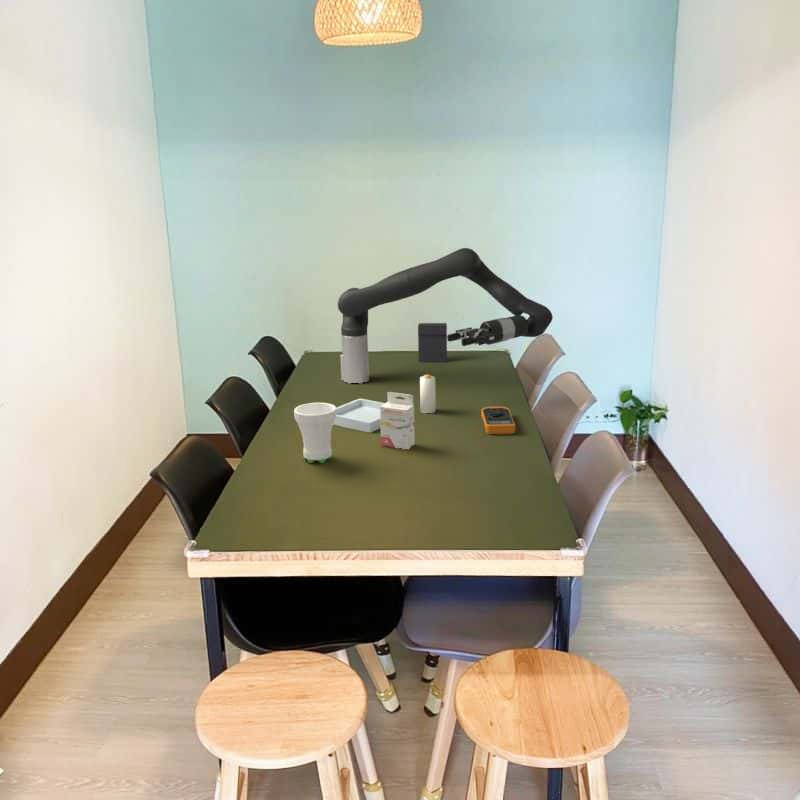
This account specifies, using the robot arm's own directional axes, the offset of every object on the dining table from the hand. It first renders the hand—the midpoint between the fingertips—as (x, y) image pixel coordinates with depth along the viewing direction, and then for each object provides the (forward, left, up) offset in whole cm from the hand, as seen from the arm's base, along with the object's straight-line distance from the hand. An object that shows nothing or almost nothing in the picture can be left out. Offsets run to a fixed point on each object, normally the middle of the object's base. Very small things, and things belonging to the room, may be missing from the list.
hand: (454, 340), depth 247 cm
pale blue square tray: (-16, -26, -22) cm, 38 cm away
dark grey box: (-38, +45, -22) cm, 63 cm away
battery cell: (-4, -9, -22) cm, 24 cm away
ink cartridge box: (+6, -39, -22) cm, 45 cm away
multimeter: (+20, -9, -22) cm, 31 cm away
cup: (-6, -59, -22) cm, 63 cm away
